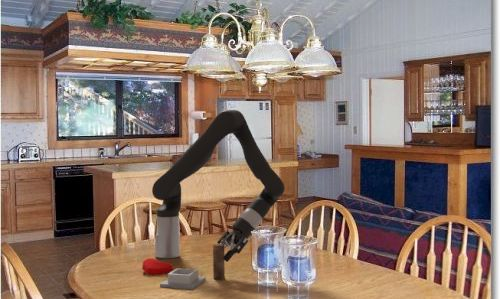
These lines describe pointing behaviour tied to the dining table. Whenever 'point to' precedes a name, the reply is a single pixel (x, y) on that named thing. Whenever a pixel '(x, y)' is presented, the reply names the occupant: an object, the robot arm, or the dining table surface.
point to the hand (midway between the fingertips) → (219, 257)
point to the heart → (156, 267)
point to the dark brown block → (218, 262)
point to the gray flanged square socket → (183, 279)
